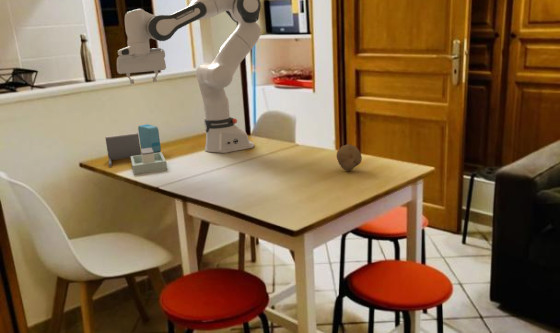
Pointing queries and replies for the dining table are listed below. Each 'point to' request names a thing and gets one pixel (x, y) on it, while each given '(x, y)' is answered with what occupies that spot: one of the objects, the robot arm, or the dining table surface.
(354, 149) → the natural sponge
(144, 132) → the data package
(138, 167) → the tray
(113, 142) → the bay
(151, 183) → the dining table surface
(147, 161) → the tall grey rectangular block
